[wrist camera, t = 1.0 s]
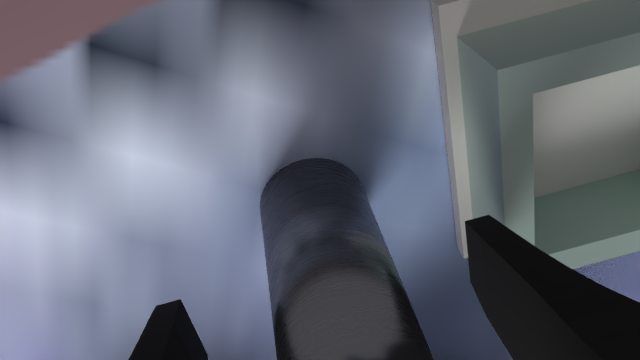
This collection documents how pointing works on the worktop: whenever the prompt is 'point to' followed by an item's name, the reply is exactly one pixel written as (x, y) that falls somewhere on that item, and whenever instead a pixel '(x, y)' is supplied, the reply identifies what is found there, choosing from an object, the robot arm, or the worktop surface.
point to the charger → (544, 121)
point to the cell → (332, 270)
